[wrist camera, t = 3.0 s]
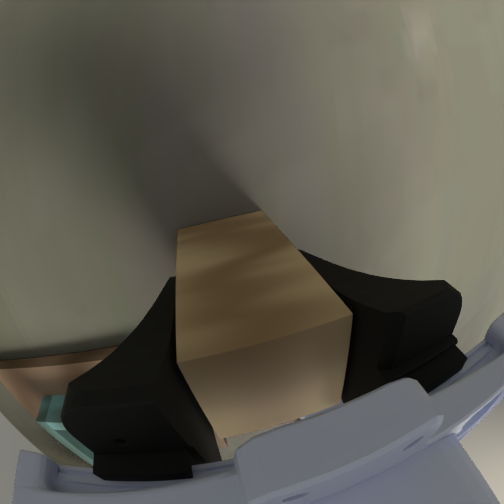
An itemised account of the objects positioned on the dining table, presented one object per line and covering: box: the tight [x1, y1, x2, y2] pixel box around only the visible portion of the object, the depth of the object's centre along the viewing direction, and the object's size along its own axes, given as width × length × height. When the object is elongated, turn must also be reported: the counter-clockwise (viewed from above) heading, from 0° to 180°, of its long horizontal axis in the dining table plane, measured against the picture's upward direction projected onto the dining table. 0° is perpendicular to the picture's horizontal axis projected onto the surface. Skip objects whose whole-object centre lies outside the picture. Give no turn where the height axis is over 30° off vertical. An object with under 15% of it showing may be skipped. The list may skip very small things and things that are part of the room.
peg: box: [176, 211, 353, 439], centre depth 10 cm, size 4×4×8 cm
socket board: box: [0, 346, 228, 466], centre depth 15 cm, size 16×14×4 cm
